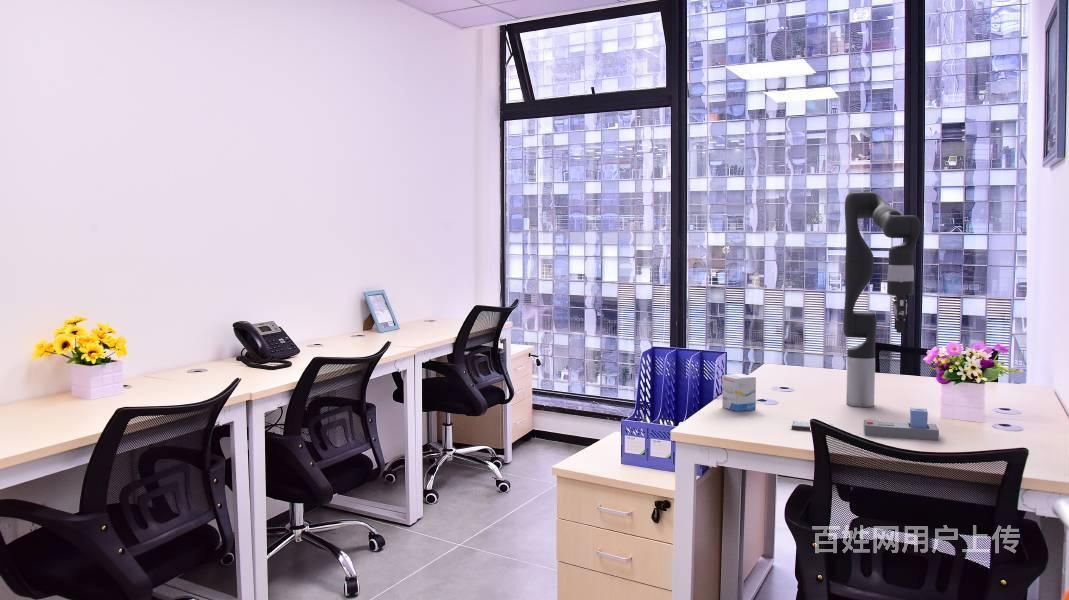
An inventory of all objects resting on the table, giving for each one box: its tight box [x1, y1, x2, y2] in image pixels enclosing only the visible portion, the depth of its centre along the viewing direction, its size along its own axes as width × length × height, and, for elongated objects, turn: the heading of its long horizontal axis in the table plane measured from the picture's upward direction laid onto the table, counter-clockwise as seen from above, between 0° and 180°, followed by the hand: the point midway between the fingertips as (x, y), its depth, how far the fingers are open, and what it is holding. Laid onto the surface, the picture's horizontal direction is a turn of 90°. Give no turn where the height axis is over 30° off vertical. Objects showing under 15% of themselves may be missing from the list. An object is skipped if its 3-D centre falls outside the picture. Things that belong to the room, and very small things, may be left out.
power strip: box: [863, 419, 940, 441], centre depth 236 cm, size 8×20×4 cm, turn 69°
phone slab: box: [791, 420, 834, 432], centre depth 245 cm, size 7×12×1 cm, turn 69°
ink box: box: [721, 373, 757, 412], centre depth 275 cm, size 9×8×12 cm
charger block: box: [909, 407, 929, 429], centre depth 234 cm, size 4×4×8 cm
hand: (899, 331), depth 245 cm, fingers open, 8 cm apart
